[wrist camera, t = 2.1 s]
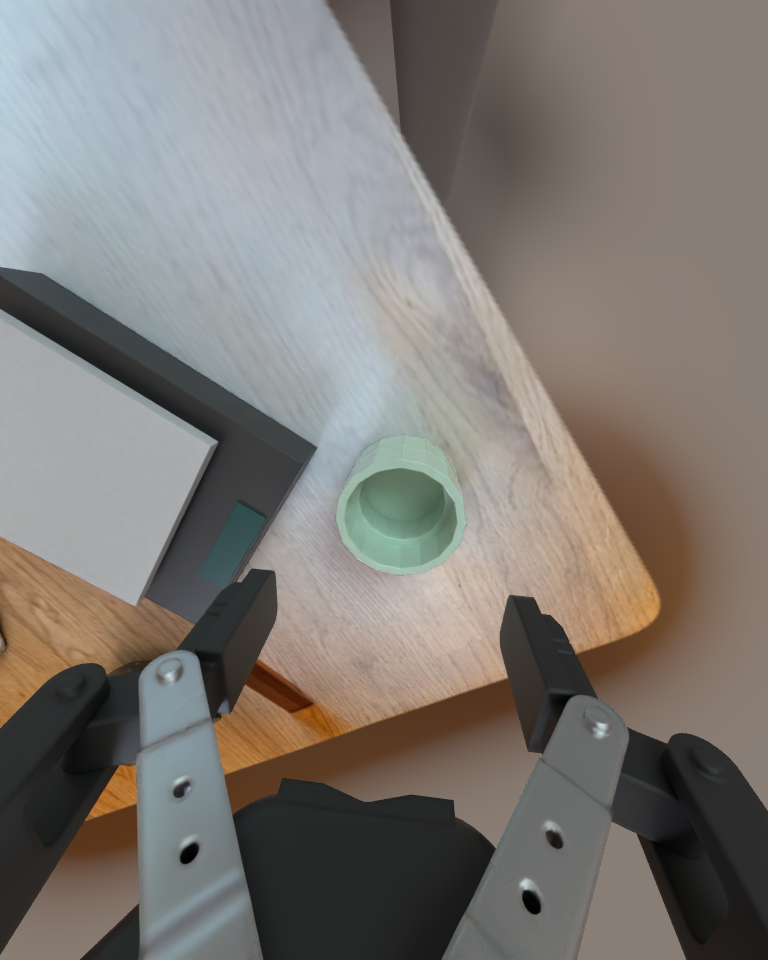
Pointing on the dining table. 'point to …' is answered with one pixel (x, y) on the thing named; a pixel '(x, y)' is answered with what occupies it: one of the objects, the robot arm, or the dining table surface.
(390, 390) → the dining table surface
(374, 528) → the cup
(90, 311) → the scale
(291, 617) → the dining table surface
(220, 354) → the dining table surface
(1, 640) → the pastry
